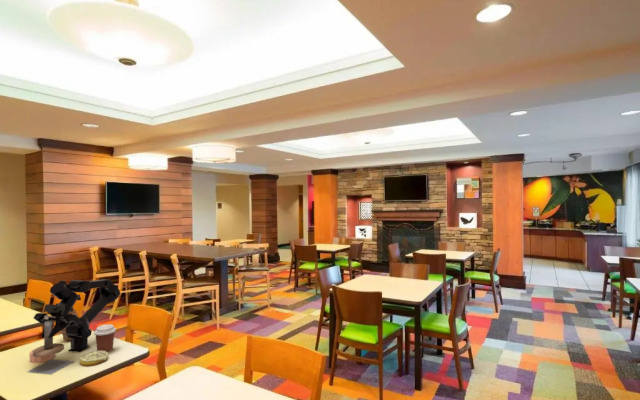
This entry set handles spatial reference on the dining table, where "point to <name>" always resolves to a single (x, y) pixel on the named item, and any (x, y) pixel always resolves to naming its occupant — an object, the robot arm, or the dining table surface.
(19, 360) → the dining table surface
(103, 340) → the coffee cup
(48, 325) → the lid
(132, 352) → the dining table surface
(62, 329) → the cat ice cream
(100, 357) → the decorated donut
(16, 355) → the dining table surface
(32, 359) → the bowl
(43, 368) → the mat
